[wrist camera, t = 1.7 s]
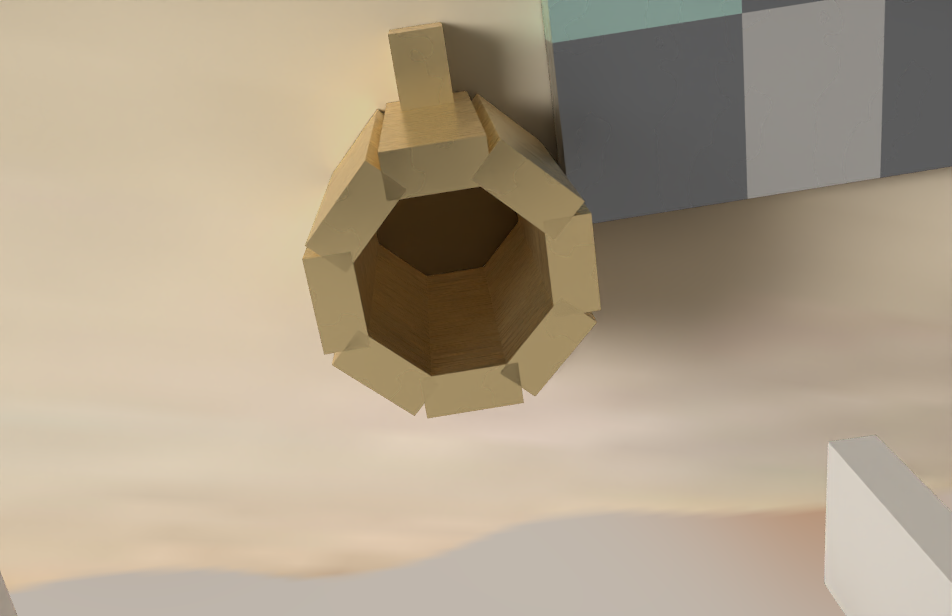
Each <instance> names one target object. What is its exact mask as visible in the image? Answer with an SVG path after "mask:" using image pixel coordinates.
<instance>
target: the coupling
mask: <svg viewBox="0 0 952 616" xmlns="http://www.w3.org/2000/svg"><path fill="white" fill-rule="evenodd" d="M388 37H389V43H390V49H391V54H392V60H393V66H394V72H395V77H396V83H397V89H398V94H399V100H400V101H398V102H392V103H387V104H386V109H385V114H383V113H382V112H381V111H379V110H378V109H377V110H376V112H375V113H374V115H373V116H372V117H371V119H370V120H369V122H368V123H367V125H366V126H365V128H364V129H363V130H362V132H361V133H360V135H359V136H358V138H357V139H356V140H355V142H354V143H353V145H352V146H351V148H350V149H349V151H348V152H347V153H346V155H345V156H344V158H343V159H342V161H341V162H340V164H339V165H338V166H337V168H336V169H335V171H334V172H333V174H332V176H331V179H330V181H329V184H328V187H327V189H326V192H325V194H324V197H323V200H322V202H321V205H320V208H319V210H318V213H317V215H316V218H315V221H314V223H313V226H312V229H311V231H310V234H309V237H308V239H307V242H306V244H305V246H306V247H307V248H306V251H305V253H304V256H303V259H302V260H303V264H304V269H305V273H306V277H307V282H308V286H309V290H310V295H311V299H312V303H313V308H314V312H315V317H316V321H317V325H318V330H319V334H320V338H321V343H322V347H323V351H324V354H330V353H334V358H333V363H332V365H333V366H334V367H336V368H338V369H339V370H341V371H343V372H344V373H346V374H347V375H349V376H351V377H352V378H354V379H356V380H357V381H359V382H360V383H362V384H364V385H365V386H367V387H369V388H370V389H372V390H373V391H375V392H377V393H378V394H380V395H382V396H383V397H385V398H386V399H388V400H390V401H391V402H393V403H394V404H396V405H398V406H399V407H401V408H403V409H404V410H406V411H407V412H409V413H411V414H412V415H414V416H415V415H416V413H417V412H418V411H419V410H420V408H421V407H422V406H423V405H424V403H425V408H426V413H427V418H433V417H439V416H445V415H451V414H458V413H464V412H470V411H476V410H482V409H488V408H495V407H501V406H507V405H513V404H519V403H524V401H523V394H522V388H523V389H525V390H526V391H528V392H529V393H531V394H532V395H534V396H536V395H537V394H538V392H539V391H540V390H541V389H542V388H543V386H544V385H545V384H546V383H547V382H548V380H549V379H550V378H551V377H552V376H553V374H554V373H555V372H556V371H557V370H558V368H559V367H560V366H561V365H562V364H563V362H564V361H565V360H566V359H567V358H568V356H569V355H570V354H571V353H572V352H573V350H574V349H575V348H576V347H577V346H578V344H579V343H580V342H581V341H582V340H583V338H584V337H585V336H586V335H587V334H588V332H589V331H590V330H591V329H592V328H593V326H594V325H595V324H596V323H597V322H596V320H595V318H594V316H593V314H592V311H598V310H601V306H600V296H599V286H598V275H597V265H596V255H595V245H594V235H593V225H592V215H591V212H590V211H589V209H588V208H587V207H586V205H585V204H584V202H585V201H584V200H583V198H582V197H581V196H580V194H579V193H578V192H577V190H576V189H575V188H574V186H573V185H572V184H571V182H570V181H569V179H568V178H567V177H566V175H565V174H564V173H563V171H562V170H561V169H560V167H559V166H558V165H557V163H556V162H555V160H554V159H553V158H552V156H551V155H550V154H549V152H548V151H547V150H546V148H545V147H544V146H543V144H542V143H541V142H540V141H539V140H538V139H537V138H536V137H534V136H533V135H532V134H530V133H529V132H528V131H526V130H525V129H524V128H522V127H521V126H520V125H518V124H517V123H516V122H514V121H513V120H512V119H510V118H509V117H508V116H506V115H505V114H504V113H502V112H501V111H500V110H498V109H497V108H496V107H494V106H493V105H492V104H490V103H489V102H488V101H487V100H485V99H484V98H483V97H481V96H480V95H479V94H476V96H475V97H474V98H473V100H472V101H471V100H470V97H469V95H468V93H467V91H462V92H455V93H453V92H452V86H451V79H450V73H449V66H448V59H447V53H446V46H445V40H444V33H443V26H442V24H441V22H437V23H431V24H425V25H418V26H412V27H405V28H399V29H393V30H389V33H388ZM475 187H482V188H483V189H485V190H486V191H488V192H489V193H490V194H492V195H493V196H495V197H496V198H497V199H499V200H500V201H501V202H503V203H504V204H506V205H507V206H508V207H510V208H511V209H513V210H514V211H515V212H517V216H518V223H517V224H516V225H515V227H514V228H513V229H512V231H511V232H510V233H509V234H508V236H507V237H506V238H505V240H504V241H503V242H502V243H501V245H500V246H499V247H498V249H497V250H496V251H495V252H494V254H493V255H492V256H491V258H490V259H489V260H488V261H487V263H486V264H485V265H484V267H480V268H474V269H468V270H461V271H455V272H449V273H442V274H436V275H430V276H426V275H424V274H423V273H421V272H420V271H418V270H417V269H415V268H414V267H412V266H411V265H409V264H408V263H406V262H405V261H403V260H402V259H400V258H399V257H398V256H396V255H395V254H393V253H392V252H390V251H389V250H387V249H386V248H384V247H383V246H381V245H380V244H379V242H378V237H377V230H378V228H379V227H380V225H381V224H382V223H383V221H384V220H385V219H386V217H387V216H388V214H389V213H390V212H391V210H392V209H393V208H394V206H395V205H396V203H397V202H398V201H399V199H405V198H412V197H418V196H424V195H430V194H437V193H443V192H449V191H456V190H462V189H468V188H475Z"/></svg>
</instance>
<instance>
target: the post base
mask: <svg viewBox="0 0 952 616" xmlns="http://www.w3.org/2000/svg"><path fill="white" fill-rule="evenodd" d="M541 6H542V15H543V24H544V33H545V42H546V51H547V60H548V69H549V79H550V88H551V97H552V106H553V115H554V124H555V133H556V142H557V151H558V160H559V167H560V169H561V170H562V171H563V173H564V174H565V175H566V177H567V178H568V179H569V181H570V182H571V184H572V185H573V186H574V188H575V189H576V190H577V192H578V193H579V194H580V196H581V197H582V198H583V200H584V201H585V202H584V204H585V205H586V207H587V208H588V209H589V211H590V212H591V215H592V224H593V223H599V222H605V221H612V220H618V219H624V218H631V217H637V216H643V215H649V214H656V213H662V212H668V211H674V210H681V209H687V208H693V207H700V206H706V205H712V204H718V203H725V202H731V201H737V200H743V199H750V198H756V197H762V196H769V195H775V194H781V193H787V192H794V191H800V190H806V189H812V188H819V187H825V186H831V185H838V184H844V183H850V182H856V181H863V180H869V179H875V178H881V177H888V176H894V175H900V174H907V173H913V172H919V171H925V170H932V169H938V168H944V167H951V166H952V0H541Z"/></svg>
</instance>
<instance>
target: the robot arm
mask: <svg viewBox="0 0 952 616" xmlns="http://www.w3.org/2000/svg"><path fill="white" fill-rule="evenodd" d="M824 584H825V585H826V587H827V588H828V590H829V591H830V593H831V594H832V596H833V597H834V599H835V600H836V602H837V603H838V605H839V606H840V608H841V609H842V611H843V612H844V614H845V615H846V616H952V511H951V510H950V509H949V508H948V507H947V506H946V505H945V504H944V503H943V502H942V501H941V500H940V499H939V498H938V497H937V496H936V495H935V494H934V493H933V492H932V491H931V490H930V489H929V488H928V487H927V486H926V485H925V484H924V483H923V482H922V481H921V480H920V479H919V478H918V477H917V476H916V475H915V474H914V473H913V472H912V471H911V470H910V469H909V468H908V467H907V466H906V465H905V464H904V463H903V462H902V461H901V460H900V459H899V458H898V457H897V456H896V455H895V454H894V453H893V452H892V451H891V450H890V449H889V448H888V447H887V446H886V445H885V444H884V443H883V442H882V441H881V440H880V439H879V438H878V437H877V436H876V435H871V436H864V437H857V438H850V439H843V440H836V441H829V442H828V460H827V496H826V533H825V569H824ZM0 616H17V613H16V610H15V608H14V605H13V603H12V600H11V598H10V595H9V593H8V590H7V588H6V585H5V582H4V580H3V577H2V575H1V572H0Z"/></svg>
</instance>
